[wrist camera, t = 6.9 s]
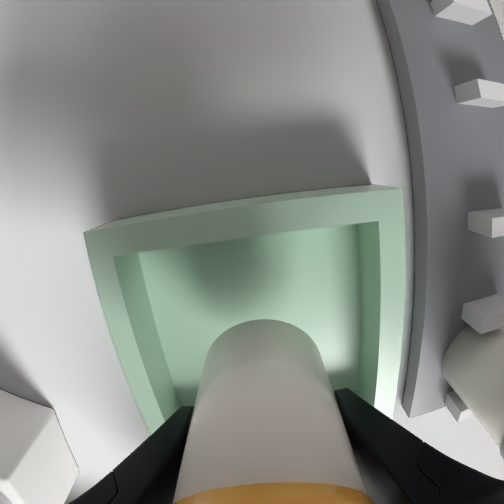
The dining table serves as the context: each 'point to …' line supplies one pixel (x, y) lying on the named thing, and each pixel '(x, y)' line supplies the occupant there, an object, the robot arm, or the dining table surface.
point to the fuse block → (454, 204)
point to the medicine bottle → (33, 454)
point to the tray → (256, 287)
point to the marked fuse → (267, 425)
